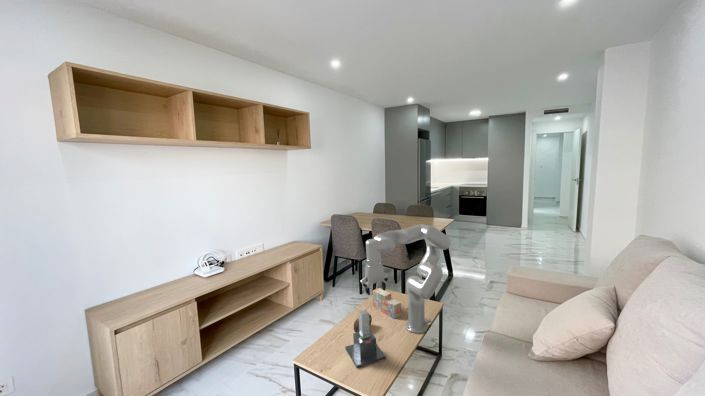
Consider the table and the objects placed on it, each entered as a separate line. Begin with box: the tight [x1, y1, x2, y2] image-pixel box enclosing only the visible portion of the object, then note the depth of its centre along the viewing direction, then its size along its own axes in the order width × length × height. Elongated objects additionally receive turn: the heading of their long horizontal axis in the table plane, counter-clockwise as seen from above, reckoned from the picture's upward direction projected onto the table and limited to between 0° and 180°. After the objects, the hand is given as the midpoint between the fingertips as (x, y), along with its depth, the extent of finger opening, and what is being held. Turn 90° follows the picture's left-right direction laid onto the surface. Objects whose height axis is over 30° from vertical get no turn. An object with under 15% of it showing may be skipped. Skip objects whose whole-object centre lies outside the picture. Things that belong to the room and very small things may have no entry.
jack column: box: [358, 309, 371, 340], centre depth 148 cm, size 4×4×16 cm
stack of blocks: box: [372, 287, 402, 320], centre depth 192 cm, size 21×6×12 cm, turn 36°
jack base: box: [345, 329, 387, 369], centre depth 149 cm, size 16×16×10 cm
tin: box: [353, 313, 373, 333], centre depth 171 cm, size 15×3×8 cm, turn 140°
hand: (375, 291), depth 156 cm, fingers open, 9 cm apart
